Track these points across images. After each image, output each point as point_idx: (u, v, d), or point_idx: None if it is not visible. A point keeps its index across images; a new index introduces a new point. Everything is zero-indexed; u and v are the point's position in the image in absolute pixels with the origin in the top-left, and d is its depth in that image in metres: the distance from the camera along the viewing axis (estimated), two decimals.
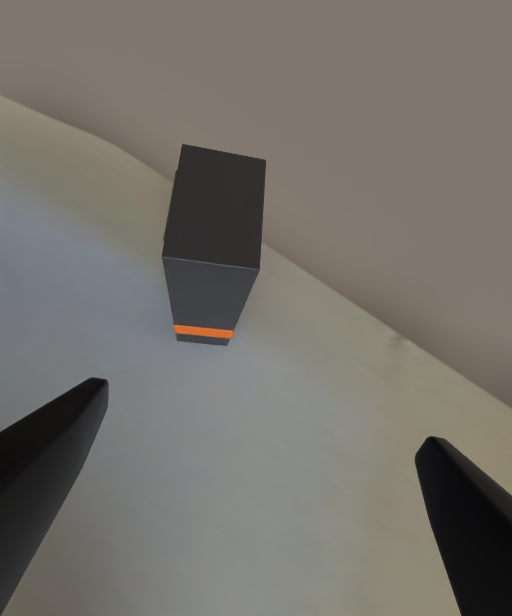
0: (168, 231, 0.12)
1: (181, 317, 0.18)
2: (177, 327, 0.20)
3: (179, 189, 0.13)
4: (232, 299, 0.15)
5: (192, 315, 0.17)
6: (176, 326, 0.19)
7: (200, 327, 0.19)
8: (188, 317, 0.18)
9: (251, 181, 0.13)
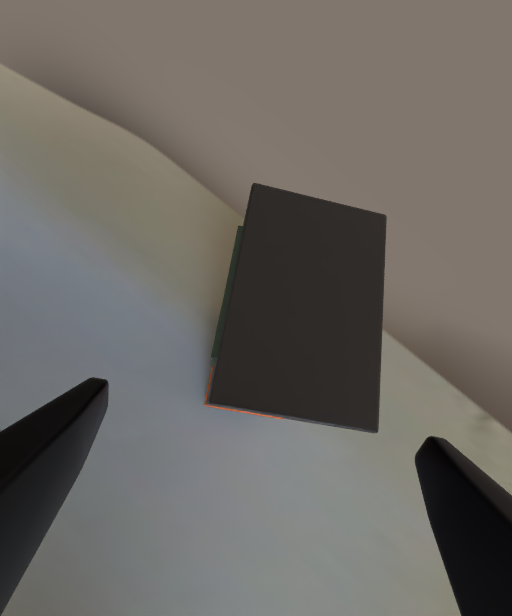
0: (223, 351, 0.07)
1: None
2: (209, 406, 0.15)
3: (245, 267, 0.07)
4: None
5: None
6: (208, 406, 0.14)
7: (240, 411, 0.14)
8: None
9: (364, 254, 0.08)
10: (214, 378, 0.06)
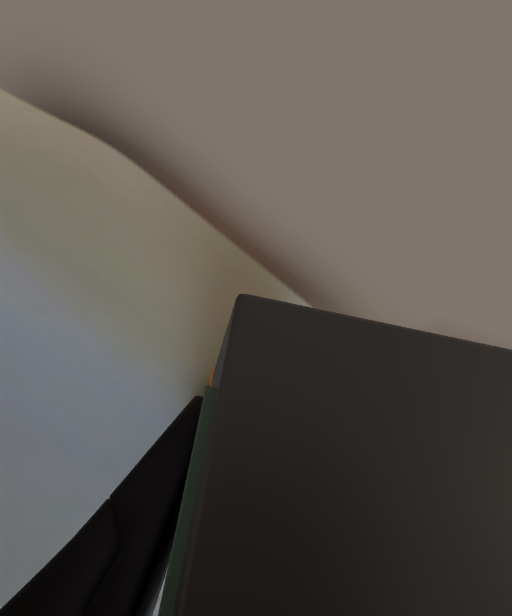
0: None
1: None
2: None
3: (213, 551, 0.03)
4: None
5: None
6: None
7: None
8: None
9: (503, 469, 0.03)
10: None
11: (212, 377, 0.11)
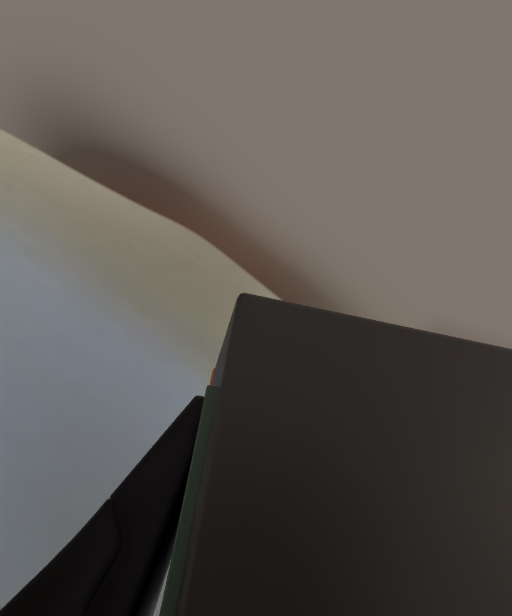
0: None
1: None
2: None
3: (214, 549, 0.03)
4: None
5: None
6: None
7: None
8: None
9: (503, 468, 0.03)
10: None
11: (212, 377, 0.11)
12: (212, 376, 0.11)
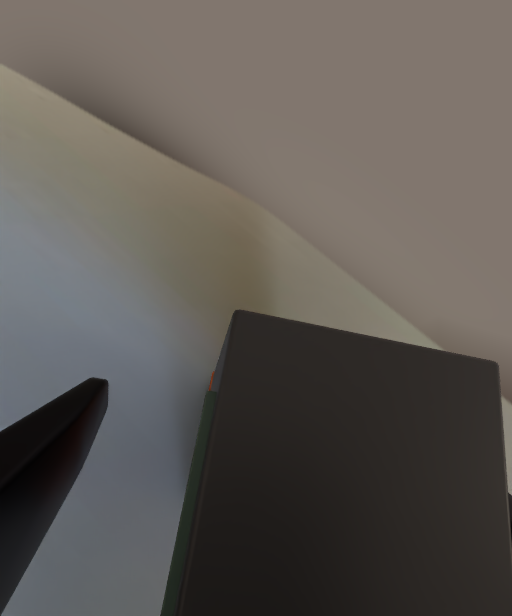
0: None
1: None
2: None
3: (213, 531, 0.03)
4: None
5: None
6: None
7: None
8: None
9: (466, 462, 0.04)
10: None
11: (212, 379, 0.12)
12: (212, 378, 0.12)
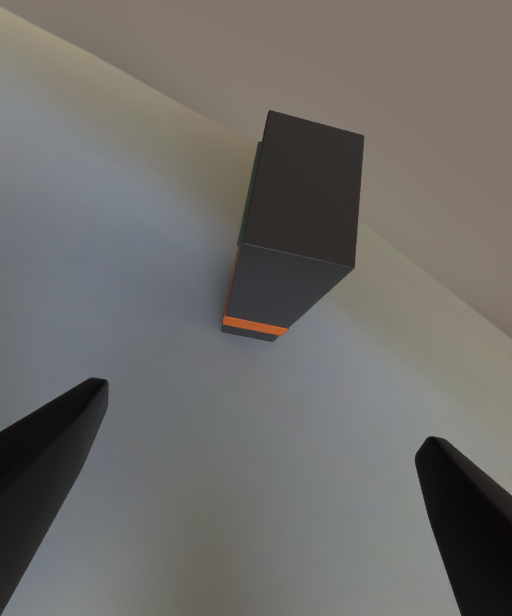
0: (250, 213, 0.10)
1: (236, 309, 0.16)
2: (227, 319, 0.18)
3: (264, 163, 0.11)
4: (304, 296, 0.13)
5: (249, 309, 0.16)
6: (227, 318, 0.18)
7: (253, 321, 0.18)
8: (244, 310, 0.16)
9: (347, 159, 0.11)
10: (245, 228, 0.10)
11: None
12: None
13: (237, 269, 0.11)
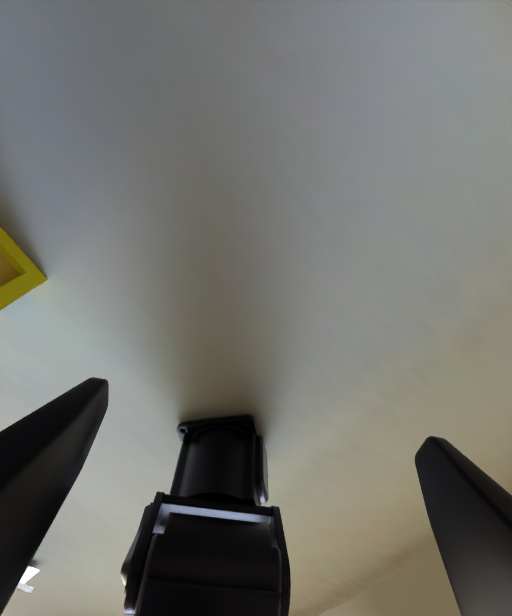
0: None
1: None
2: None
3: None
4: None
5: None
6: None
7: None
8: None
9: None
10: None
11: None
12: None
13: None
